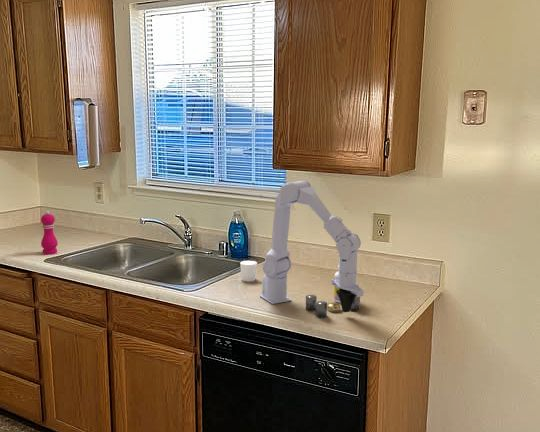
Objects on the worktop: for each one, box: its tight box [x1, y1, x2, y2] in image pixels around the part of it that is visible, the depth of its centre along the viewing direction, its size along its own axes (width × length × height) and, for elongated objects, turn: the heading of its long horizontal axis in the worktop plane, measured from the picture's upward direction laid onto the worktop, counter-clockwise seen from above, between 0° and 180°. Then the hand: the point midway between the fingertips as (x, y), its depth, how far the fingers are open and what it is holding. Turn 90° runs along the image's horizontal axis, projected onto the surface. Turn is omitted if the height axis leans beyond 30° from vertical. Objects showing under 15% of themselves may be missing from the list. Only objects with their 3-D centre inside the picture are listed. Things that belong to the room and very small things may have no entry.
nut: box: [327, 302, 341, 313], centre depth 186 cm, size 4×4×2 cm
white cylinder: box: [239, 260, 258, 283], centre depth 219 cm, size 7×7×7 cm
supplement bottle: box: [333, 264, 341, 304], centre depth 194 cm, size 7×7×13 cm
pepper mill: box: [40, 210, 59, 256], centre depth 255 cm, size 7×7×20 cm
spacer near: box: [305, 294, 317, 312], centre depth 186 cm, size 4×4×4 cm
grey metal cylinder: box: [350, 295, 361, 312], centre depth 187 cm, size 4×4×4 cm
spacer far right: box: [315, 300, 328, 319], centre depth 180 cm, size 4×4×4 cm
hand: (346, 311), depth 180 cm, fingers closed
